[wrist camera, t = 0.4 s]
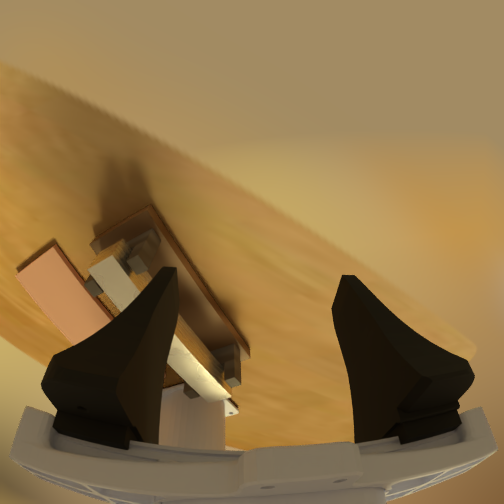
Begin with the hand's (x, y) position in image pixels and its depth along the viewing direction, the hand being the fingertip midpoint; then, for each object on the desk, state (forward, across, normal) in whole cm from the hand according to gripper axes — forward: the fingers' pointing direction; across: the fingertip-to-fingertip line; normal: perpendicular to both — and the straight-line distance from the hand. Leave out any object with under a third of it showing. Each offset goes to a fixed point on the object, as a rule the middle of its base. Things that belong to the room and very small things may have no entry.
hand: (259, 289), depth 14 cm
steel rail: (+6, +6, +10) cm, 13 cm away
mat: (+9, +16, +14) cm, 23 cm away
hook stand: (+10, +6, +10) cm, 15 cm away
